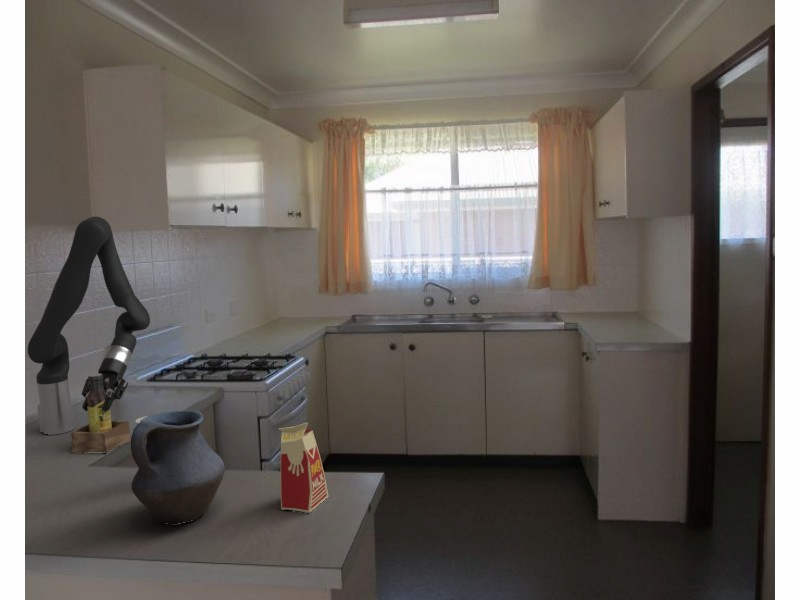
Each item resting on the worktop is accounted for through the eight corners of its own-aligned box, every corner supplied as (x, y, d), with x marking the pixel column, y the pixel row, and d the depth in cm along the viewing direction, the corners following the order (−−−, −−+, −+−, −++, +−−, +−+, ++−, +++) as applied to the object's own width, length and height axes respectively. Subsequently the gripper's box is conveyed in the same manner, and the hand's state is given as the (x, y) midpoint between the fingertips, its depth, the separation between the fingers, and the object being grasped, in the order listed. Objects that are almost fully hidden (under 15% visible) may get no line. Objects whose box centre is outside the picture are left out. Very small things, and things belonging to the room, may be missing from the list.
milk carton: (328, 497, 157) (323, 417, 155) (311, 514, 149) (305, 429, 146) (294, 493, 160) (289, 415, 158) (276, 510, 152) (269, 427, 149)
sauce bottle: (104, 441, 198) (96, 377, 195) (86, 441, 199) (78, 377, 197) (117, 434, 205) (110, 372, 202) (99, 433, 206) (92, 372, 203)
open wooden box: (71, 452, 198) (68, 432, 197) (98, 438, 210) (96, 419, 209) (106, 454, 195) (104, 434, 194) (132, 439, 207) (130, 420, 206)
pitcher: (246, 503, 156) (238, 402, 153) (182, 546, 137) (171, 431, 133) (179, 491, 165) (170, 395, 162) (110, 531, 145) (98, 423, 142)
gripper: (89, 356, 208) (67, 404, 198) (129, 356, 204) (108, 404, 194) (102, 369, 213) (81, 415, 204) (141, 369, 210) (122, 416, 200)
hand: (94, 410), depth 199 cm, fingers closed on sauce bottle, 6 cm apart
